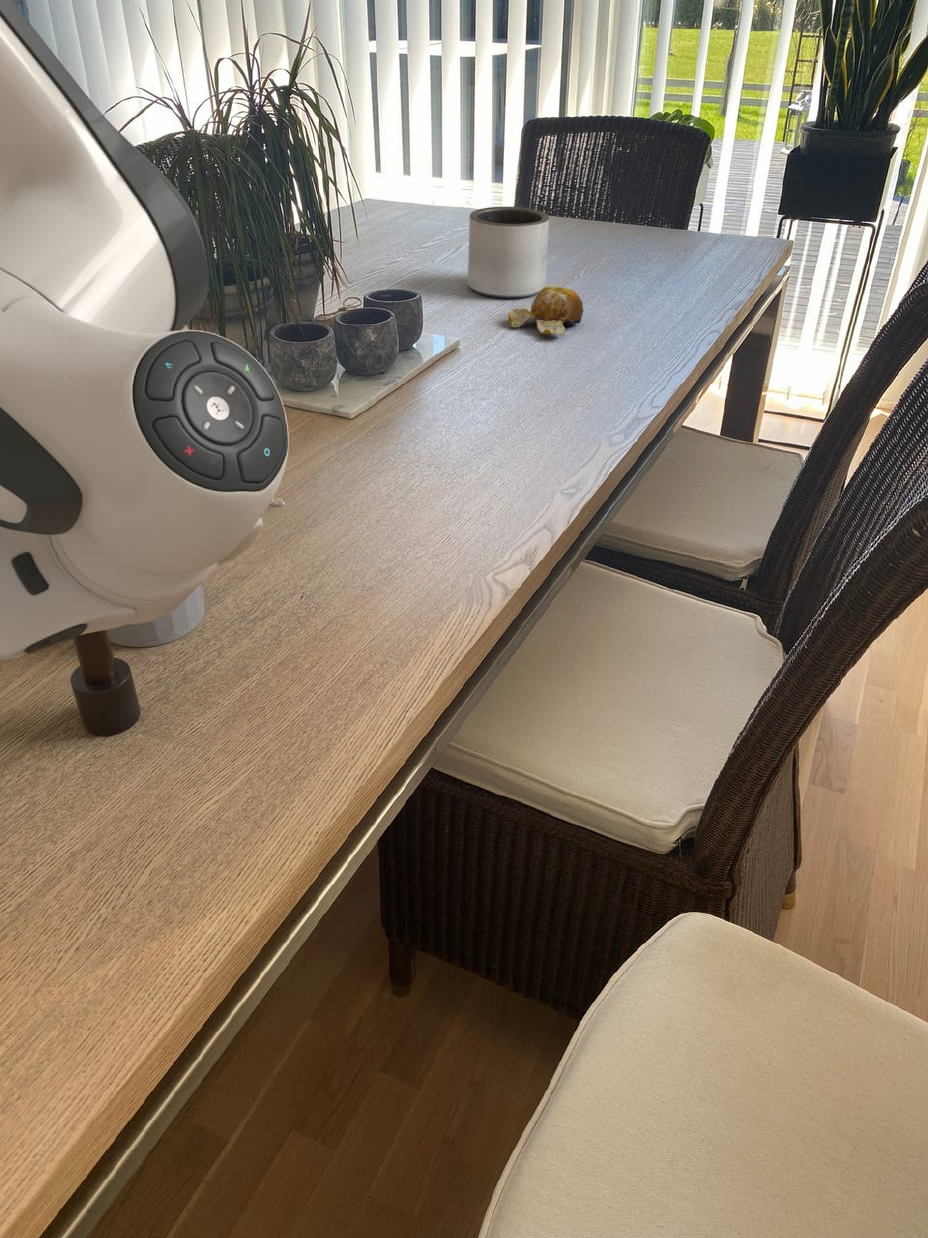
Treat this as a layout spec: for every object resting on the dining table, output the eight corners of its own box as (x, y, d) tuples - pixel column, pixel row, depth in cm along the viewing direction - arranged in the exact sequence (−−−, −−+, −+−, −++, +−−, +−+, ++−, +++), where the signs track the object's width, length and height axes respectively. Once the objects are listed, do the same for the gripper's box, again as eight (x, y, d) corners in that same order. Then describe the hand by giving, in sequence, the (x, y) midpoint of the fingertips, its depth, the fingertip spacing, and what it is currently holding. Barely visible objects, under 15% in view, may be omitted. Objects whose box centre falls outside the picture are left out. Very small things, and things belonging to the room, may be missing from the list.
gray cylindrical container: (112, 659, 74) (78, 525, 67) (86, 604, 80) (52, 476, 73) (219, 627, 77) (197, 497, 70) (186, 577, 83) (163, 452, 76)
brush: (90, 743, 66) (32, 547, 57) (76, 710, 69) (20, 518, 59) (147, 724, 68) (101, 530, 58) (132, 692, 70) (85, 503, 61)
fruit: (498, 322, 138) (499, 289, 136) (546, 307, 145) (548, 276, 142) (554, 339, 132) (556, 305, 130) (601, 323, 139) (604, 290, 136)
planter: (550, 280, 157) (555, 208, 150) (538, 303, 147) (542, 227, 140) (477, 274, 159) (478, 203, 153) (459, 296, 149) (460, 221, 143)
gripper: (257, 433, 58) (192, 516, 69) (-91, 557, 46) (-101, 633, 57) (308, 523, 58) (235, 591, 69) (-26, 670, 46) (-48, 723, 57)
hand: (81, 611), depth 63 cm, fingers open, 8 cm apart
